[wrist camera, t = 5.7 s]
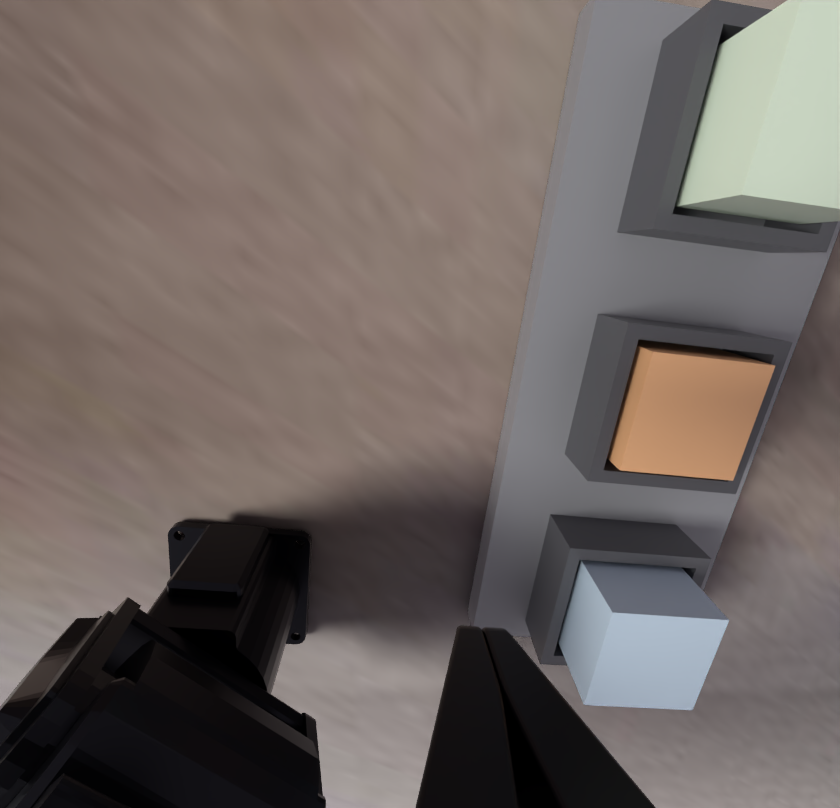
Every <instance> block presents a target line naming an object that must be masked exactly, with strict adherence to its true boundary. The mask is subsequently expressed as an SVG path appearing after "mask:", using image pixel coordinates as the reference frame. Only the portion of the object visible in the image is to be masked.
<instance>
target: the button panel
mask: <svg viewBox="0 0 840 808" xmlns="http://www.w3.org/2000/svg"><path fill="white" fill-rule="evenodd" d="M771 11H772V10H769V9H764V8H758V7H752V6H747V5H741V4H736V3H730V2H725V1H719V0H711V1H710V2H709V3H707V4H706V5H705V6H704V7H702V8H701V9H700V8H695V7H689V6H684V5H678V4H672V3H667V2H661V1H655V0H589V2H588V3H587V4H586V6H585V7H584V8H583V10H582V11H581V12H580V14H579V18H578V24H577V29H576V35H575V40H574V45H573V51H572V56H571V61H570V67H569V72H568V77H567V83H566V88H565V93H564V99H563V104H562V109H561V115H560V120H559V125H558V131H557V136H556V141H555V147H554V152H553V157H552V163H551V168H550V174H549V179H548V184H547V190H546V195H545V200H544V206H543V211H542V216H541V222H540V227H539V232H538V238H537V243H536V248H535V254H534V259H533V264H532V270H531V275H530V280H529V286H528V291H527V296H526V302H525V307H524V312H523V318H522V323H521V329H520V334H519V339H518V345H517V350H516V355H515V361H514V366H513V371H512V377H511V382H510V387H509V393H508V398H507V403H506V409H505V414H504V419H503V425H502V430H501V435H500V441H499V446H498V451H497V457H496V462H495V468H494V473H493V478H492V484H491V489H490V494H489V500H488V505H487V510H486V516H485V521H484V526H483V532H482V537H481V542H480V548H479V553H478V558H477V564H476V569H475V574H474V580H473V585H472V590H471V596H470V601H469V606H468V615H469V620H470V625H471V626H477V627H479V628H481V629H482V628H484V627H494V628H504V629H506V630H507V631H508V632H509V633H510V634H511V636H522V637H531V639H532V642H533V645H534V648H535V650H536V653H537V656H538V659H539V662H540V664H550V665H567V663H566V660H565V658H564V655H563V653H562V650H561V648H560V646H559V643H558V639H559V635H560V632H561V628H562V624H563V621H564V617H565V613H566V609H567V606H568V602H569V598H570V595H571V591H572V587H573V583H574V580H575V576H576V572H577V569H578V565H579V561H580V560H591V561H604V562H617V563H631V564H644V565H658V566H671V567H681V568H682V569H683V570H684V571H685V572H686V573H687V574H688V575H689V576H690V577H691V579H692V580H693V581H694V582H695V583H696V584H697V585H698V586H699V587H700V588H701V590H702V591H704V588H705V585H706V583H707V580H708V577H709V575H710V572H711V569H712V567H713V564H714V561H715V559H716V556H717V554H718V551H719V548H720V546H721V543H722V540H723V538H724V535H725V532H726V530H727V527H728V524H729V522H730V519H731V516H732V514H733V511H734V508H735V506H736V503H737V501H738V498H739V495H740V493H741V490H742V487H743V485H744V482H745V479H746V477H747V474H748V471H749V469H750V466H751V463H752V461H753V458H754V456H755V453H756V450H757V448H758V445H759V442H760V440H761V437H762V434H763V432H764V429H765V426H766V424H767V421H768V418H769V416H770V413H771V411H772V408H773V405H774V403H775V400H776V397H777V395H778V392H779V389H780V387H781V384H782V381H783V379H784V376H785V373H786V371H787V368H788V365H789V363H790V360H791V358H792V355H793V352H794V350H795V347H796V344H797V342H798V339H799V336H800V334H801V331H802V328H803V326H804V323H805V320H806V318H807V315H808V313H809V310H810V307H811V305H812V302H813V299H814V297H815V294H816V291H817V289H818V286H819V283H820V281H821V278H822V275H823V273H824V270H825V268H826V265H827V262H828V260H829V257H830V254H831V252H832V249H833V246H834V244H835V241H836V238H837V236H838V233H839V230H840V221H835V222H822V223H810V224H795V223H788V222H781V221H774V220H767V219H759V218H752V217H745V216H738V215H731V214H724V213H717V212H710V211H703V210H696V209H689V208H681V207H675V205H676V201H677V197H678V193H679V190H680V186H681V182H682V179H683V175H684V171H685V167H686V164H687V160H688V156H689V153H690V149H691V145H692V141H693V138H694V134H695V130H696V127H697V123H698V119H699V115H700V112H701V108H702V104H703V101H704V97H705V93H706V90H707V86H708V82H709V78H710V75H711V71H712V67H713V64H714V60H715V56H716V52H717V49H718V46H719V45H720V44H722V43H724V42H725V41H727V40H728V39H730V38H731V37H733V36H734V35H736V34H737V33H739V32H740V31H742V30H743V29H745V28H746V27H748V26H749V25H751V24H752V23H754V22H755V21H757V20H758V19H760V18H762V17H763V16H765V15H766V14H768V13H769V12H771ZM638 340H647V341H655V342H664V343H673V344H681V345H690V346H698V347H707V348H716V349H720V350H723V351H727V352H730V353H734V354H737V355H740V356H744V357H747V358H751V359H754V360H758V361H761V362H764V363H768V364H771V365H775V368H774V371H773V374H772V377H771V379H770V382H769V385H768V387H767V390H766V393H765V396H764V398H763V401H762V404H761V406H760V409H759V412H758V415H757V417H756V420H755V423H754V425H753V428H752V431H751V434H750V436H749V439H748V442H747V444H746V447H745V450H744V453H743V455H742V458H741V461H740V463H739V466H738V469H737V472H736V474H735V477H734V480H733V481H730V480H719V479H709V478H698V477H687V476H676V475H665V474H654V473H643V472H632V471H621V470H619V469H618V468H617V467H616V466H615V465H614V464H613V463H612V462H611V461H610V460H609V459H607V455H608V452H609V448H610V444H611V440H612V437H613V433H614V429H615V426H616V422H617V418H618V414H619V411H620V407H621V403H622V399H623V396H624V392H625V388H626V385H627V381H628V377H629V373H630V370H631V366H632V362H633V359H634V355H635V351H636V347H637V344H638Z"/></svg>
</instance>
